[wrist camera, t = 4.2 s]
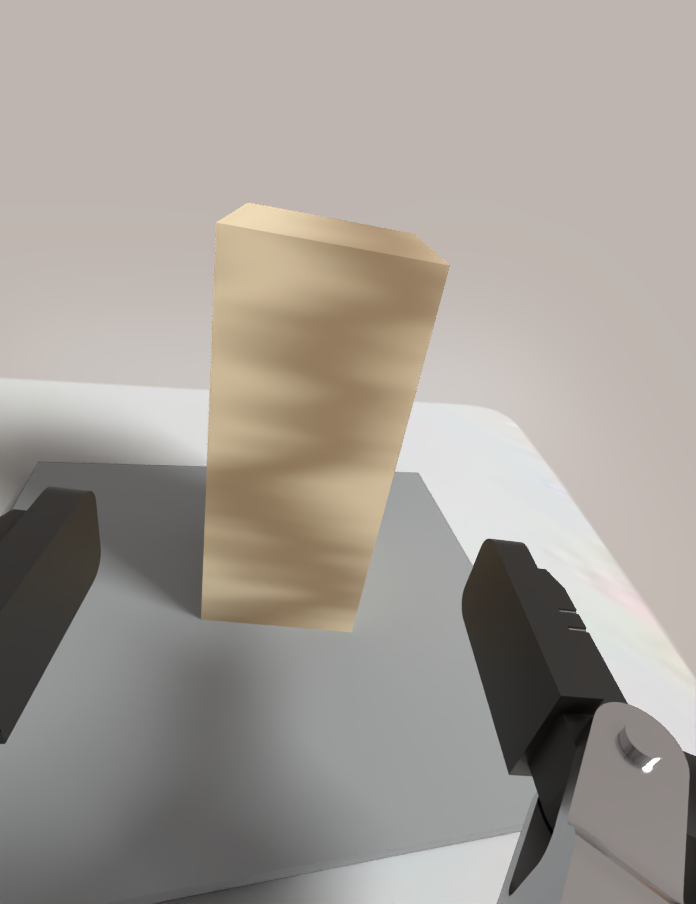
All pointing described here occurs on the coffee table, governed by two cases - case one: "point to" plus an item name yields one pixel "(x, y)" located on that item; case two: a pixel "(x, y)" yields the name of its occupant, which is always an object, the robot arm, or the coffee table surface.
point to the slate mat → (244, 715)
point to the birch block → (307, 408)
